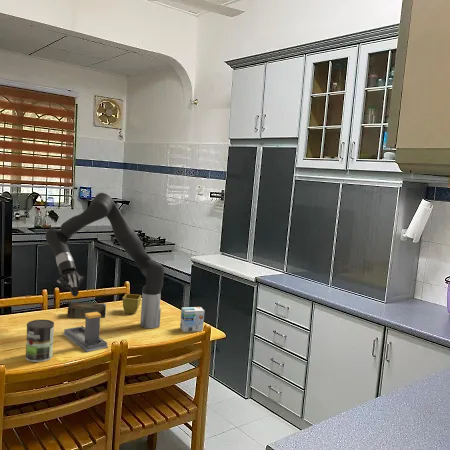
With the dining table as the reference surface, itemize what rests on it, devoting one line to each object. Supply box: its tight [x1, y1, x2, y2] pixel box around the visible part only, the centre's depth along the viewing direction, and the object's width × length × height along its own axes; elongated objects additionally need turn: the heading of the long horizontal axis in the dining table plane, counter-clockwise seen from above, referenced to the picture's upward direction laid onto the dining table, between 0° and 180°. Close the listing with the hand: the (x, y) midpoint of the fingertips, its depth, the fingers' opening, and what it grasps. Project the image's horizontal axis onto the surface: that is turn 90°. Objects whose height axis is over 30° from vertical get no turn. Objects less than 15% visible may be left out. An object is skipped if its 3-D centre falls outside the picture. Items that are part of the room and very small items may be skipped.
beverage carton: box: [67, 302, 107, 319], centre depth 240 cm, size 8×19×7 cm, turn 105°
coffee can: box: [25, 319, 55, 363], centre depth 185 cm, size 10×10×14 cm
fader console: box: [62, 325, 109, 353], centre depth 206 cm, size 24×10×2 cm, turn 42°
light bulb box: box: [179, 306, 205, 333], centre depth 232 cm, size 11×7×11 cm, turn 112°
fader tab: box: [84, 312, 101, 344], centre depth 200 cm, size 4×5×13 cm
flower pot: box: [122, 293, 142, 315], centre depth 252 cm, size 9×9×9 cm
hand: (75, 295), depth 209 cm, fingers closed
